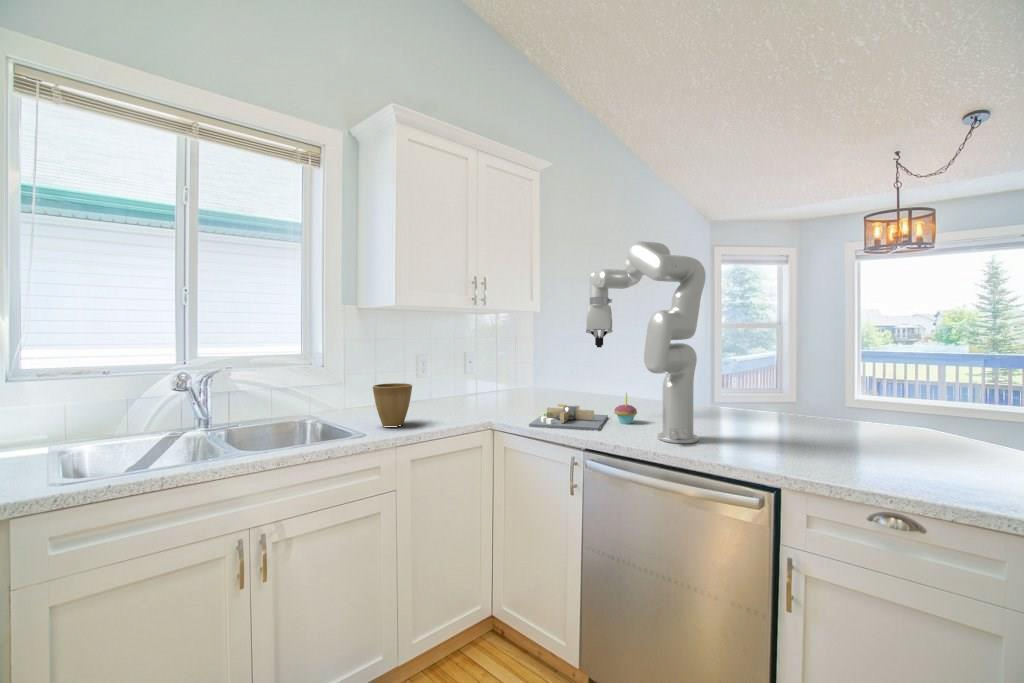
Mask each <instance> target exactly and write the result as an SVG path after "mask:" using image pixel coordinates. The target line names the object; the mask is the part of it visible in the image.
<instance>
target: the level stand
mask: <svg viewBox="0 0 1024 683" xmlns="http://www.w3.org/2000/svg"><path fill="white" fill-rule="evenodd" d="M608 417H609V415H608V414H595V413H594V420H587V419H575V420H568V421H566V422H560V419H557V418H556V417H547V410H546V411H543V412H541V413H539V414H538V417H537V418H536V419H534V420H532V422H530V423H529V424H528V427H529V428H530V427H531V428H544V427H548V428H547V429H561V430H563V429H564V430H565V429H567V430H578V429H579V431H580V430H581V431H582V430H583V431H594V430H598V431H600V430H601V428H602V426H603V425H604V423H605V422H606V420H608ZM600 427H601V428H600Z"/></svg>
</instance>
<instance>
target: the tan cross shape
mask: <svg viewBox="0 0 1024 683" xmlns="http://www.w3.org/2000/svg"><path fill="white" fill-rule="evenodd" d="M546 411H547V417H556V418H557V419H560V422H566V421H568V420H575V419H587V420H594V414H595V410H591V409H590V410H589V409H580V405H568V404H557V407H550V406H549V407H547V408H546Z"/></svg>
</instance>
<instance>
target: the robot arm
mask: <svg viewBox="0 0 1024 683" xmlns="http://www.w3.org/2000/svg"><path fill="white" fill-rule="evenodd" d="M644 275H645V276H646V277H647V278H649V279H651V280H653V281H657V282H670V283H672V282H673V283H679V285H678V286H677V288H676V289H675V290H674V292H673V295H672V298H671V305H670V309H667V310H665V309H663V310H658V311H656V312H654V313H653V314H652V316H651V317H650V318H649V321H648V324H647V330H646V336H645V337H646V338H645V345H644V353H643V363H644V366H645V368H646V369H647V370H648V372H650V373H652V374H656V375H657V374H658V375H659V374H660V375H661V374H665V377H664V379H663V382H662V432H659V433H658V435H657V439H659V440H660V441H663V442H666V443H673V444H694V443H697V442H699V435H696V434H695V433H694V385H695V384H694V381H695V380H694V379H695V373H696V372H695V371H696V367H697V362H698V360H697V352H696V350H695V348H693V347H692V346H691V345H689V344H688V343H687V344H686V343H683V342H675V343H673V342H672V343H671V341H682V340H689V339H692V338H693V337H694V336H695V334H696V331H697V326H698V320H699V315H700V314H699V313H700V307H701V306H700V305H701V298H702V295H703V291H704V288H705V284H706V278H707V276H706V275H707V274H706V269H705V267H704V265H703V264H702V263H701V261H699V260H698V259H696V258H694V257H691V256H686V255H678V254H677V255H676V254H675V255H674V254H671V251H670V249H669V247H668V246H667V245H666V244H663V243H661V242H654V241H642V240H641V241H637V242H635V243H633V244H632V245H631V246H630V247H629V250H628V252H627V257H626V258H625V260H624V269H616V268H615V269H614V268H604V269H603V268H602V269H600V270H598V271H593V272H591V273H589V277H588V278H589V305H588V306H587V311H586V320H585V322H586V323H585V324H586V328H585V330H586V331H585V333H586V334H591V335H592V336H593V337H594V339H595V341H594V342H595V343H594V344H595V346H596V348H602V347H603V346H604V337H605V336H607V334H611V333H613V315H612V308H611V305H609V304H610V303H613V299H612V298H609V289H618V290H620V289H621V290H623V289H628V288H630V287H633V286H635V285H637V284H639V283H640V281H641V280H642V278H643V276H644ZM598 331H600V333H599V332H598ZM599 334H600V335H599Z"/></svg>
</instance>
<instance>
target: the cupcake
mask: <svg viewBox="0 0 1024 683" xmlns="http://www.w3.org/2000/svg"><path fill="white" fill-rule="evenodd" d="M614 414H615V415H616V416H617V418H618V421H619V423H620V424H622V425H631V423H632V424H633V422H634V418H635V417H636V415H637V414H638V411H637V408H635V406H633V405H631V404H628V392H626V393H625V402H624V404H620V405H618V406H615V408H614Z"/></svg>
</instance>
